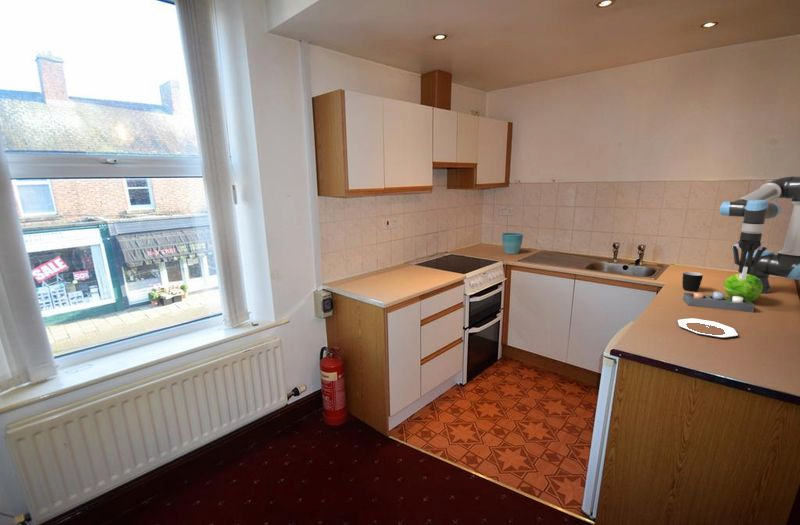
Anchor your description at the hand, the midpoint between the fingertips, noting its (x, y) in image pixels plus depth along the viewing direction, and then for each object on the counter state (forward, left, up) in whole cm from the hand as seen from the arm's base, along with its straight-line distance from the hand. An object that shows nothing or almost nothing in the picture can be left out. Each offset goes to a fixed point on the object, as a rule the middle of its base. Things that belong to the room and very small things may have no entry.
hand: (742, 279), depth 183 cm
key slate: (+8, 0, -12) cm, 15 cm away
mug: (+12, -29, -15) cm, 35 cm away
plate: (+23, +39, -16) cm, 48 cm away
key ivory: (0, 0, -13) cm, 13 cm away
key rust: (+16, 0, -13) cm, 21 cm away
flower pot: (+123, -102, -15) cm, 160 cm away
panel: (+8, 0, -15) cm, 17 cm away
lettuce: (-7, -16, -15) cm, 23 cm away
